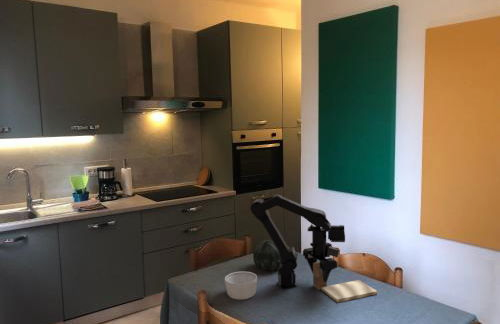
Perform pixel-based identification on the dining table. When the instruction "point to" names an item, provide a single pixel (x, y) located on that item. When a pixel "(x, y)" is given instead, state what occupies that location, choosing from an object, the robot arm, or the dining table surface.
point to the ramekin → (241, 285)
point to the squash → (267, 256)
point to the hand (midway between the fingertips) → (319, 277)
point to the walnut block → (318, 276)
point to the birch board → (348, 291)
